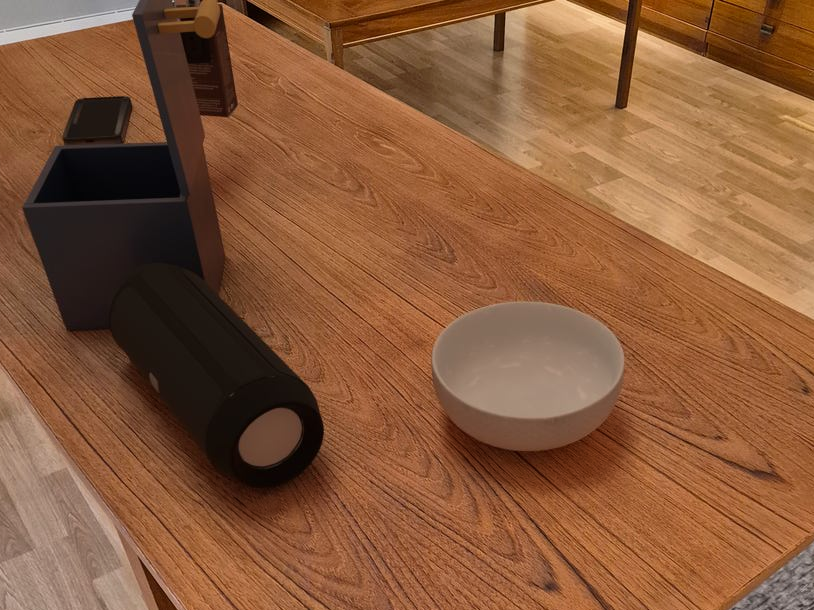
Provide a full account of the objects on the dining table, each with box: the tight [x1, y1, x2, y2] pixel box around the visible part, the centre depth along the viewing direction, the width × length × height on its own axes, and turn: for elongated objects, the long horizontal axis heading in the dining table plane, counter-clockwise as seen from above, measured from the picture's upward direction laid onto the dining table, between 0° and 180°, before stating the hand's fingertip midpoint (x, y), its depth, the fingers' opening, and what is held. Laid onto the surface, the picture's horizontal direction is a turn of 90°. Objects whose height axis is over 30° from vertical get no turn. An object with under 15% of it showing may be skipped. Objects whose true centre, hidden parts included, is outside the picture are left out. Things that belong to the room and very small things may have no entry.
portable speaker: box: [108, 263, 325, 490], centre depth 77 cm, size 26×10×10 cm, turn 37°
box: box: [172, 1, 239, 119], centre depth 108 cm, size 6×4×12 cm
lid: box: [131, 0, 220, 196], centre depth 81 cm, size 15×14×6 cm
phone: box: [61, 95, 133, 146], centre depth 126 cm, size 8×1×15 cm
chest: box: [21, 141, 226, 332], centre depth 91 cm, size 15×14×13 cm
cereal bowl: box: [430, 301, 626, 452], centre depth 78 cm, size 17×17×7 cm
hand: (200, 52), depth 107 cm, fingers closed on box, 5 cm apart
